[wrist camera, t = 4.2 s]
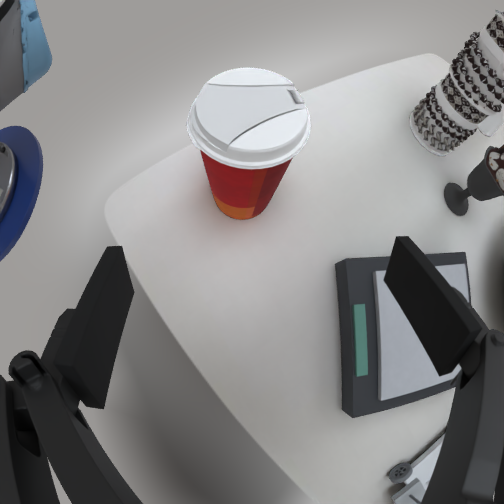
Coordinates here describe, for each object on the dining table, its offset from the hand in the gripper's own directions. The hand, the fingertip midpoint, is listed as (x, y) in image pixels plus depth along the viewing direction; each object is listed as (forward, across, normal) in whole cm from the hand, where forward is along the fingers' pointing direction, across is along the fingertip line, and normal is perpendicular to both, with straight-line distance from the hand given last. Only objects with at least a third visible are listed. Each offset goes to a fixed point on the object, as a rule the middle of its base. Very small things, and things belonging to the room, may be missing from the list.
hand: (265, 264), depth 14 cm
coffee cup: (+19, 0, -4) cm, 20 cm away
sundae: (+19, +30, -4) cm, 36 cm away
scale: (+8, +18, -16) cm, 25 cm away
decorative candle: (+27, +29, +3) cm, 40 cm away
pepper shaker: (+30, +45, +7) cm, 55 cm away
